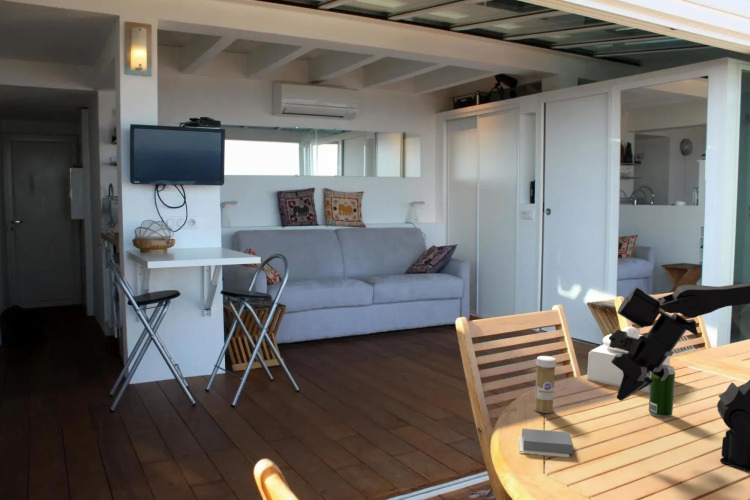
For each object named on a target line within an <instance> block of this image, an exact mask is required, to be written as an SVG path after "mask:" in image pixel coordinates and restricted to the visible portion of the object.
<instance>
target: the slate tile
mask: <svg viewBox="0 0 750 500" xmlns="http://www.w3.org/2000/svg"><path fill="white" fill-rule="evenodd" d="M571 436H572V435H571V434H570V432H569V431H556V430H545V429H532V428H521V437H522V443H523V450H530V451H542V452H554V453H566V454H569V455H573V453H574V443H573V439H572V437H571Z"/></svg>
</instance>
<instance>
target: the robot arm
mask: <svg viewBox="0 0 750 500" xmlns="http://www.w3.org/2000/svg"><path fill="white" fill-rule="evenodd" d="M749 304H750V282H745V283H738V284H737V283H736V284H729V285H721V286H712V285H702V284H700V285H699V284H696V285H694V284H683V285H680V286H678V287H676V288H675V290H674V291H673V293H670V294H667V295H664V296H661V297H658V298H656V297H653V296H652V295H650V294H649V293H646V292H645V291H644V290H643V289H641V288H640V287H638V286H635V287H634V289H633V290H632V291H631V292H630V293H629V294H628V295H627V297H626V296H625V298H623V301H622V302H621V303H620V306H619V307H618V309H617V314H618V315H619V316H621V317H623V318H624V319H626V320H628V321H629V322H631V323H633V324H635V325H636V326H638V327H639V328H641V329H642V328H644V327H650V326H651V328H650V329H649V331H647V333H646V335H645V334H640V335H641V336H640V337H639V339H637V338H634V337H630V336H627V332H624V331H622V330H621V329H617V330H616V331H614V332H612V333H611V334H612V335H611V336H610V337H609V340H611V342H610V346H609V347H612V348H618V349H622V350H625V351H629V352H628V353H627V354H617V355H616V356H615V357H614V359H613V360H612V361H611V362H612V364H614V365H615V366H616V367H618V368H619V369H620V370H622V371H623V379H622V382H621V385H620V387H619V388H618V389H619V390H618V392H617V394H616V399H617V400H619V401H620V402H621V401H624V400H625V399H627V398H629V397H630V396H633V395H635V394H636V393H638V392H641V391H640V390H641V389H643V388H645V387H647V386H649V385H650V384H653V383H654V381H653V380H652V379H650V378H649V377H650V372H653V373H654V374H656V375H657V376H658V377H659V380H660V381H665V379H666V378H667V376H668V375H669V370H668V368H667V367H666V366H664V365H663V362H664V361H665V360H666V358H667V357H668V356H670V357H672V356H673V354H674V351H673V350H674V349H675V347H676V345H677V344H678V343H679V341H680V340H681V339H682V338H683V336H684V334H685V333H686V332H687V331H688V332H690V333H691V334H693V335H695V336H696V335H698V334H699V332H698V329H697V325H696V324H697V322H696V320H695V319H694V318H697V317H701V316H703V315H706V314H711V313H713V312H715V311H717V310H720V309H722V308H726V307H732V306H733V307H734V306H742V305H749ZM679 314H681V315H679ZM657 317H658V318H657ZM685 317H686V318H692V319H686V318H685ZM642 335H643V336H642ZM718 397H719V400H718V402H717V406H716V407H717V412H718V414H719V416H720V418H721V419H722V420H723V422H724V424H725V425H726V426H727V427H728V428H729V429H728V430H726V431H725V435H724V437H722V441H721V442H722V444H721V457H722V458H720V459H719V461H720V462H719V463H722V464H725V465H729V466H732V467H734V468H737V469H740V470H744V471H746V472H750V379H748V380H747V381H746V382H745V383H743V384H741V385H738V386H737V385H736V384H735V383H734V382H731V383H730V384H729V385H728V387H727V388H726V390H725V391H724V392H722V393H721V394H719V395H718Z"/></svg>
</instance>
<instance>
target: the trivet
mask: <svg viewBox="0 0 750 500" xmlns="http://www.w3.org/2000/svg"><path fill="white" fill-rule="evenodd" d="M517 440H519V442H518V450H519V451H520V452H524V453H530V454H529V455H535V454H538V456H546V457H548V456H549V457H550V456H552V457H561V458H570V454H566V453H554V452H542V451H530V450H523V443H522V436H518V437H517ZM520 452H519V453H520ZM524 453H523V454H524ZM531 453H532V454H531Z"/></svg>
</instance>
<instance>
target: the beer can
mask: <svg viewBox="0 0 750 500" xmlns="http://www.w3.org/2000/svg"><path fill="white" fill-rule="evenodd" d="M664 366H666V367H667V368H668V370H669V375H668V376H667V378H666V379H665V381H660V380H659V377H658V376H657V375H656V374H654V373H653V372H651V379H652V380H653V381H654V383H653V384H650V393H649V397H648V398H649V401H648V412H649V414H650V415H651V416H653V417H655V418H658V419H659V418H660V419H668V418H669V419H670V418H671V417H672V415H673V410H674V397H675V396H674V395H675V394H674V393H675V381H676V371H675V367H673V366H671V365H670V366H669V365H664Z"/></svg>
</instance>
